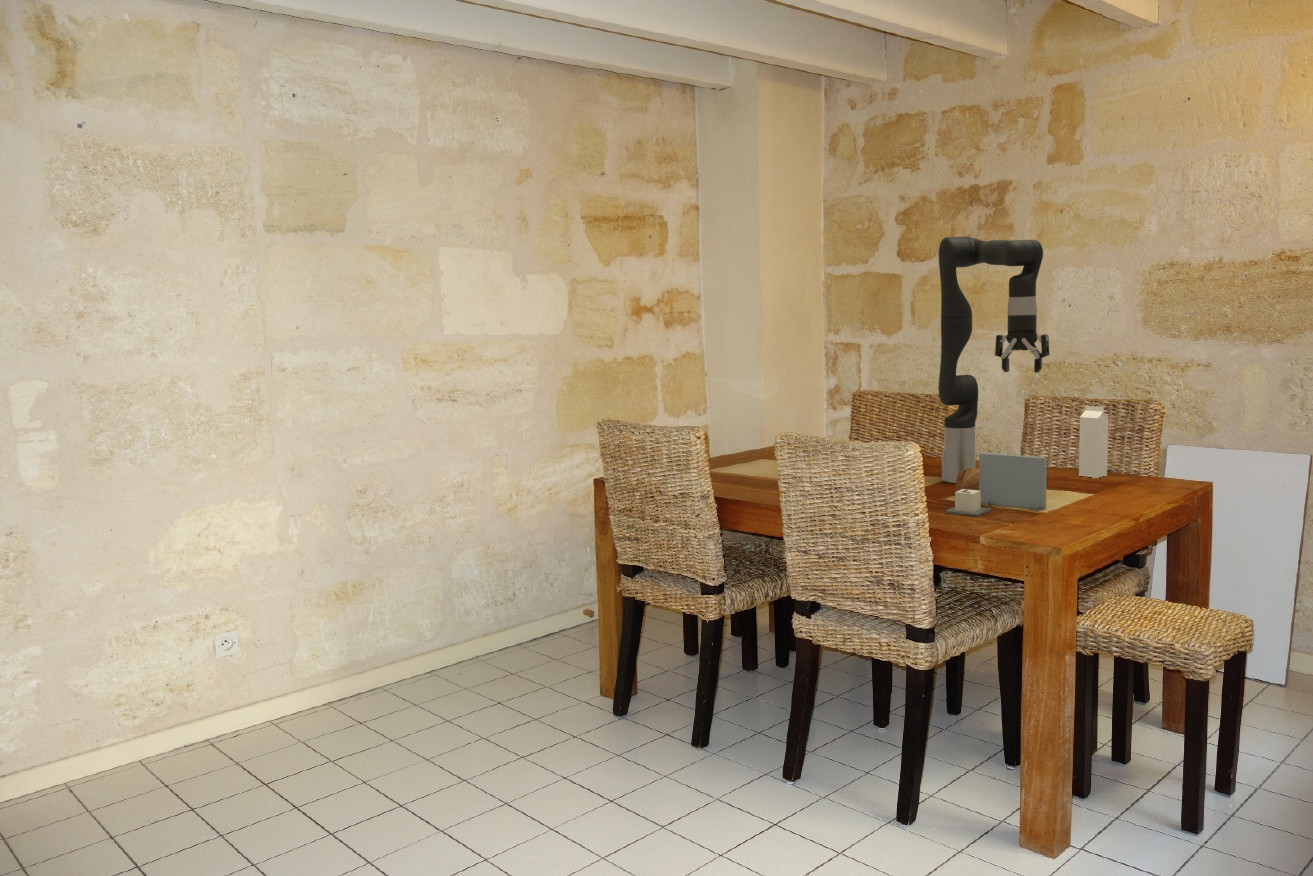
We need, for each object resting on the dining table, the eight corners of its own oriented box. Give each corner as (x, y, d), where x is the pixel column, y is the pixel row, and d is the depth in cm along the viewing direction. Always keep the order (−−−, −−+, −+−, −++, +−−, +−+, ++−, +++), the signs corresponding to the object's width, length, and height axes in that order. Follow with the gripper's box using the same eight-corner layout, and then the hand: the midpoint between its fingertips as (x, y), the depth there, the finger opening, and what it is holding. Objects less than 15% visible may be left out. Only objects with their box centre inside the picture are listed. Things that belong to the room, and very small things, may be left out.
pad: (944, 513, 268) (944, 510, 268) (959, 507, 274) (958, 504, 274) (977, 516, 262) (977, 514, 262) (990, 510, 269) (990, 508, 268)
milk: (1096, 478, 306) (1098, 407, 302) (1078, 476, 310) (1079, 406, 307) (1107, 476, 309) (1108, 405, 306) (1088, 473, 314) (1090, 404, 311)
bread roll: (948, 498, 286) (948, 471, 285) (965, 489, 298) (965, 463, 297) (982, 501, 281) (982, 473, 280) (998, 492, 293) (998, 465, 292)
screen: (975, 504, 277) (975, 454, 275) (984, 500, 281) (984, 451, 279) (1040, 511, 265) (1041, 459, 263) (1048, 507, 270) (1049, 456, 268)
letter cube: (955, 510, 268) (955, 491, 267) (962, 506, 272) (962, 488, 271) (973, 512, 265) (973, 493, 264) (980, 508, 268) (980, 490, 268)
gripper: (991, 314, 275) (991, 372, 278) (1043, 313, 266) (1042, 373, 268) (1002, 313, 281) (1001, 370, 283) (1053, 312, 272) (1052, 371, 274)
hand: (1021, 372), depth 276 cm, fingers open, 8 cm apart
